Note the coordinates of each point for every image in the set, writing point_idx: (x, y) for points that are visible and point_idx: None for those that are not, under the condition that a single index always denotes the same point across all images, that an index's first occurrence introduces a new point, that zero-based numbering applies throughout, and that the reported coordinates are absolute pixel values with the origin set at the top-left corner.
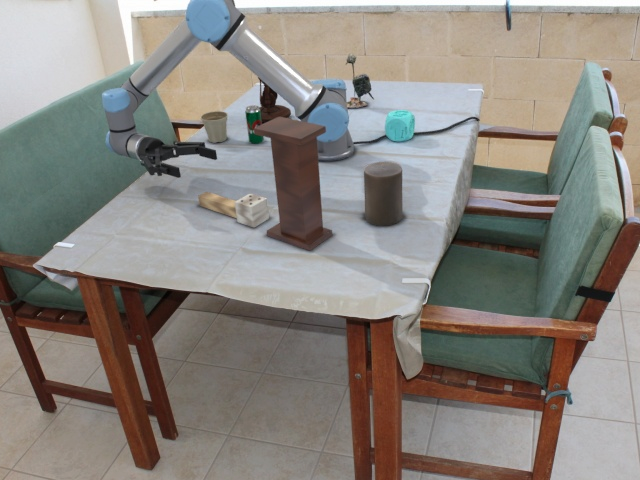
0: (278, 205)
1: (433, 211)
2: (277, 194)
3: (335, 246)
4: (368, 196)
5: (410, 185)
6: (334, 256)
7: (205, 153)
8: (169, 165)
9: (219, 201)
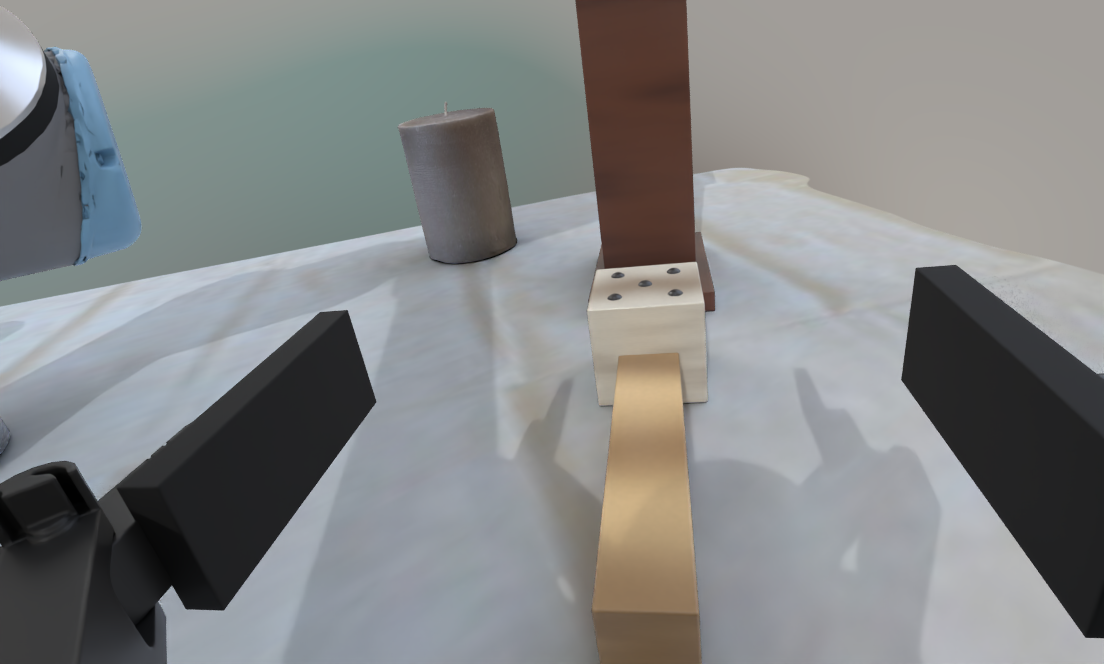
0: (692, 168)
1: (421, 231)
2: (690, 125)
3: None
4: (498, 176)
5: (288, 276)
6: None
7: (287, 449)
8: (1026, 343)
9: (672, 447)
